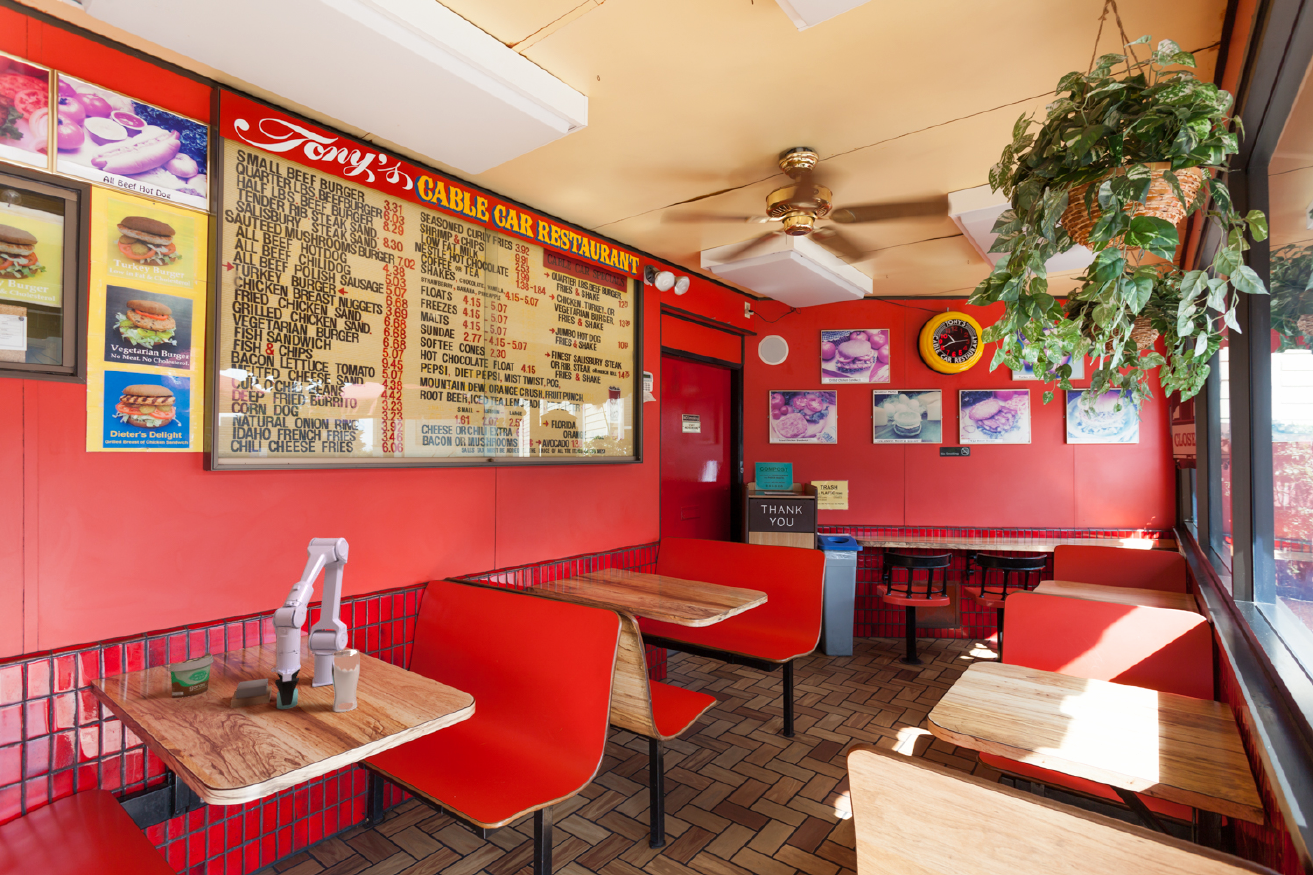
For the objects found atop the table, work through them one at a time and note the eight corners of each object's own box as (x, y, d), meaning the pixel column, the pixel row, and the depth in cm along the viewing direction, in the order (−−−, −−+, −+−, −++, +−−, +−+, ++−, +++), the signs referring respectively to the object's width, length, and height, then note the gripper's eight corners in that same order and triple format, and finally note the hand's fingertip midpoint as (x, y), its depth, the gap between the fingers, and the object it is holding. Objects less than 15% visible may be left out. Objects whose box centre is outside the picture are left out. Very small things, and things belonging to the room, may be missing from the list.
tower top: (267, 687, 184) (268, 678, 184) (265, 694, 177) (265, 685, 177) (239, 690, 180) (239, 681, 180) (235, 698, 174) (236, 689, 174)
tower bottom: (271, 694, 185) (271, 685, 185) (269, 704, 177) (269, 695, 177) (234, 699, 180) (234, 690, 180) (230, 710, 172) (231, 700, 173)
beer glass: (364, 705, 174) (365, 649, 175) (344, 714, 168) (345, 657, 168) (345, 702, 176) (346, 647, 177) (324, 711, 170) (325, 654, 171)
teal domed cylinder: (297, 701, 177) (298, 686, 178) (297, 707, 173) (297, 692, 173) (277, 704, 175) (277, 689, 175) (276, 710, 171) (276, 695, 171)
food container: (185, 701, 178) (186, 665, 179) (167, 699, 179) (168, 663, 180) (223, 686, 190) (224, 652, 191) (206, 685, 191) (207, 651, 192)
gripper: (273, 646, 179) (272, 694, 179) (269, 659, 167) (268, 711, 166) (301, 642, 183) (300, 690, 182) (300, 655, 170) (299, 706, 169)
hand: (287, 700), depth 174 cm, fingers open, 7 cm apart
